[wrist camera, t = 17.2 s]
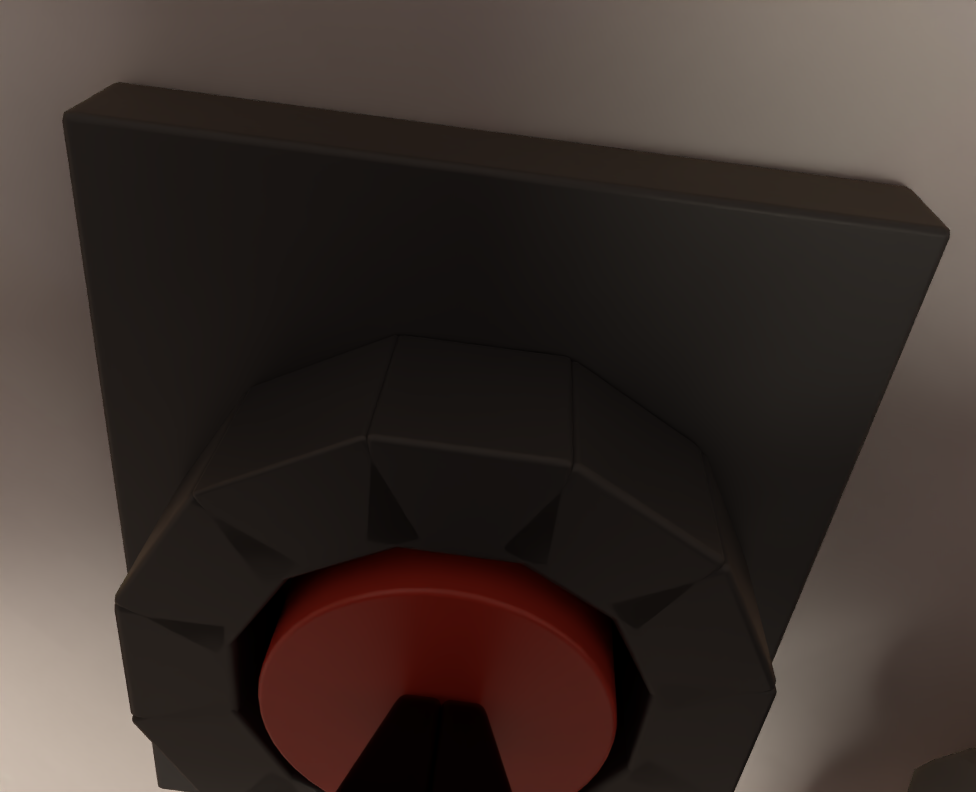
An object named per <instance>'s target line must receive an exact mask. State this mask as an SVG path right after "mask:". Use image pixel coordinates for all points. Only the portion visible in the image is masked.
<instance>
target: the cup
mask: <svg viewBox="0 0 976 792" xmlns="http://www.w3.org/2000/svg"><path fill="white" fill-rule="evenodd" d="M908 792H976V748H971V749H968V750H964V751H961V752H958V753H954V754H951V755H948V756H945V757H942V758H938V759H934V760H932V761H930V762H928V763H926V764H924V765H922V766H921V767H919V768H917V769H915V770H914V772H913V776H912V779H911V782H910V785H909V789H908Z"/></svg>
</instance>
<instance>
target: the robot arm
mask: <svg viewBox="0 0 976 792" xmlns="http://www.w3.org/2000/svg"><path fill="white" fill-rule="evenodd" d="M440 712H441V715H440ZM439 720H440V722H439ZM438 728H439V729H438ZM336 792H512V789H511V786H510V783H509V780H508V777H507V774H506V771H505V768H504V765H503V762H502V759H501V755H500V752H499V749H498V746H497V743H496V740H495V737H494V734H493V731H492V728H491V724H490V721H489V718H488V715H487V713H486V710H485V709H484V707H483V706H482V705H480V704H478V703H472V702H464V701H457V700H447V701H445V702H444V703H443V704H442V708H441V703H440V701H439V700H438V699H437V698H434V697H426V696H419V695H411V694H404V695H402V696H400V697H399V698H398V699H397V700H396V702H395V703H394V704H393V706H392V707H391V709H390V711H389V712H388V714H387V715H386V717H385V718H384V720H383V721H382V723H381V724H380V726H379V727H378V729H377V730H376V732H375V733H374V735H373V736H372V738H371V739H370V741H369V742H368V744H367V745H366V747H365V748H364V750H363V751H362V753H361V754H360V756H359V757H358V759H357V760H356V762H355V763H354V765H353V766H352V768H351V769H350V771H349V772H348V774H347V775H346V777H345V778H344V780H343V781H342V783H341V784H340V786H339V787H338V789H337V790H336Z"/></svg>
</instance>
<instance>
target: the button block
mask: <svg viewBox="0 0 976 792" xmlns="http://www.w3.org/2000/svg"><path fill="white" fill-rule="evenodd" d="M62 121H63V128H64V135H65V142H66V149H67V156H68V163H69V170H70V177H71V184H72V191H73V198H74V205H75V212H76V219H77V226H78V232H79V239H80V246H81V253H82V260H83V267H84V274H85V281H86V288H87V295H88V302H89V309H90V316H91V323H92V330H93V337H94V343H95V350H96V357H97V364H98V371H99V378H100V385H101V392H102V399H103V406H104V413H105V420H106V427H107V434H108V441H109V448H110V454H111V461H112V468H113V475H114V482H115V489H116V496H117V503H118V510H119V517H120V524H121V531H122V538H123V545H124V552H125V559H126V565H127V572H128V574H127V576H126V578H125V579H124V581H123V583H122V584H121V586H120V588H119V590H118V591H117V593H116V595H115V615H116V622H117V628H118V634H119V640H120V647H121V653H122V659H123V665H124V672H125V678H126V684H127V691H128V697H129V703H130V709H131V713H132V714H133V717H132V721H133V723H134V724H135V725H136V726H137V727H138V728H139V729H140V730H141V731H142V732H143V733H144V734H145V735H146V736H147V737H148V739H149V740H150V741H151V742H152V746H153V753H154V760H155V767H156V774H157V780H158V786H159V787H160V788H162V789H169V790H177V791H184V792H325V791H324V790H322V789H321V788H319V787H318V786H316V785H315V784H313V783H312V782H310V781H309V780H308V779H307V778H305V777H304V776H303V775H302V774H301V773H299V772H298V771H297V770H296V769H295V768H294V767H293V766H292V765H291V764H290V763H289V762H288V761H287V760H286V759H285V758H284V757H283V755H282V754H281V753H280V751H279V750H278V749H277V747H276V746H275V744H274V743H273V741H272V739H271V738H270V736H269V734H268V732H267V730H266V728H265V725H264V722H263V719H262V716H261V713H260V706H259V698H258V684H259V676H260V672H261V669H262V665H263V662H264V659H265V656H266V653H267V650H268V648H269V645H270V642H271V639H272V636H273V634H274V631H275V628H276V625H277V622H278V620H279V617H280V614H281V611H282V608H283V606H284V603H285V600H286V597H287V594H288V591H289V589H290V586H291V583H292V580H293V577H296V576H300V575H303V574H307V573H310V572H313V571H317V570H320V569H324V568H327V567H331V566H334V565H337V564H341V563H344V562H348V561H351V560H355V559H358V558H361V557H365V556H368V555H372V554H375V553H379V552H382V551H386V550H389V549H392V548H396V547H398V548H406V549H414V550H421V551H429V552H436V553H444V554H451V555H459V556H467V557H474V558H482V559H489V560H497V561H505V562H512V563H520V564H522V565H524V566H526V567H527V568H529V569H531V570H532V571H534V572H536V573H537V574H539V575H541V576H542V577H544V578H545V579H547V580H549V581H550V582H552V583H554V584H555V585H557V586H559V587H560V588H562V589H564V590H565V591H567V592H569V593H570V594H572V595H574V596H575V597H577V598H579V599H580V600H582V601H583V602H585V603H587V604H588V605H590V606H592V607H593V608H595V609H597V610H598V611H600V612H602V613H603V614H605V615H607V616H608V617H610V618H611V623H612V639H613V655H614V671H615V687H616V703H617V729H616V734H615V739H614V743H613V745H612V748H611V750H610V752H609V755H608V757H607V759H606V761H605V762H604V764H603V765H602V767H601V769H600V770H599V772H598V773H597V774H596V775H595V776H594V777H593V778H592V779H591V781H590V782H589V783H588V784H587V785H585V786H584V787H583V788H582V789H581V790H579V791H578V792H734V790H735V788H736V786H737V784H738V781H739V779H740V777H741V774H742V772H743V770H744V767H745V765H746V763H747V761H748V758H749V756H750V754H751V751H752V749H753V747H754V744H755V742H756V740H757V737H758V735H759V733H760V731H761V728H762V726H763V724H764V721H765V719H766V717H767V714H768V712H769V710H770V708H771V705H772V703H773V701H774V698H775V696H776V693H777V691H776V686H775V684H776V678H775V674H774V670H773V666H772V661H773V659H774V657H775V654H776V652H777V649H778V647H779V645H780V642H781V640H782V638H783V635H784V633H785V630H786V628H787V626H788V623H789V621H790V618H791V616H792V614H793V611H794V609H795V606H796V604H797V602H798V599H799V597H800V594H801V592H802V590H803V587H804V585H805V582H806V580H807V578H808V575H809V573H810V571H811V568H812V566H813V563H814V561H815V559H816V556H817V554H818V551H819V549H820V547H821V544H822V542H823V539H824V537H825V535H826V532H827V530H828V527H829V525H830V523H831V520H832V518H833V515H834V513H835V511H836V508H837V506H838V504H839V501H840V499H841V496H842V494H843V492H844V489H845V487H846V484H847V482H848V480H849V477H850V475H851V472H852V470H853V468H854V465H855V463H856V460H857V458H858V456H859V453H860V451H861V448H862V446H863V444H864V441H865V439H866V437H867V434H868V432H869V429H870V427H871V425H872V422H873V420H874V417H875V415H876V413H877V410H878V408H879V405H880V403H881V401H882V398H883V396H884V393H885V391H886V389H887V386H888V384H889V381H890V379H891V377H892V374H893V372H894V370H895V367H896V365H897V362H898V360H899V358H900V355H901V353H902V350H903V348H904V346H905V343H906V341H907V338H908V336H909V334H910V331H911V329H912V326H913V324H914V322H915V319H916V317H917V314H918V312H919V310H920V307H921V305H922V303H923V300H924V298H925V295H926V293H927V291H928V288H929V286H930V283H931V281H932V279H933V276H934V274H935V271H936V269H937V267H938V264H939V262H940V259H941V257H942V255H943V252H944V250H945V247H946V245H947V243H948V240H949V237H950V230H949V228H948V227H947V226H946V225H945V224H944V223H943V222H942V221H941V220H940V219H939V218H938V217H937V216H936V215H935V214H934V213H933V212H932V211H931V210H930V209H929V208H928V207H927V205H926V204H925V203H924V202H923V201H922V200H921V199H920V198H919V197H918V196H917V195H916V194H915V193H914V192H913V191H912V190H911V189H909V188H908V187H905V186H897V185H890V184H882V183H875V182H867V181H860V180H852V179H845V178H837V177H830V176H822V175H815V174H807V173H799V172H792V171H784V170H777V169H769V168H762V167H754V166H747V165H739V164H732V163H724V162H717V161H709V160H702V159H694V158H686V157H679V156H671V155H664V154H656V153H649V152H641V151H634V150H626V149H619V148H611V147H604V146H596V145H589V144H581V143H574V142H566V141H558V140H551V139H543V138H536V137H528V136H521V135H513V134H506V133H498V132H491V131H483V130H476V129H468V128H461V127H453V126H446V125H438V124H430V123H423V122H415V121H408V120H400V119H393V118H385V117H378V116H370V115H363V114H355V113H348V112H340V111H333V110H325V109H317V108H310V107H302V106H295V105H287V104H280V103H272V102H265V101H257V100H250V99H242V98H235V97H227V96H220V95H212V94H205V93H197V92H189V91H182V90H174V89H167V88H159V87H152V86H144V85H137V84H129V83H122V82H118V83H115V84H112V85H111V86H109V87H107V88H105V89H104V90H102V91H100V92H98V93H97V94H95V95H93V96H91V97H90V98H88V99H86V100H85V101H83V102H81V103H79V104H78V105H76V106H74V107H72V108H71V109H69V110H67V111H66V112H64V115H63V120H62Z"/></svg>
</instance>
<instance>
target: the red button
mask: <svg viewBox="0 0 976 792" xmlns="http://www.w3.org/2000/svg"><path fill="white" fill-rule="evenodd" d="M404 694H411V695H419V696H426V697H434V698H437V699H438V700H439V701H440V703H441V708H442V704H443V703H444V702H445V701H447V700H457V701H464V702H472V703H478V704H480V705H482V706H483V707H484V709H485V710H486V713H487V715H488V718H489V721H490V724H491V728H492V731H493V734H494V737H495V740H496V743H497V746H498V749H499V752H500V755H501V759H502V762H503V765H504V768H505V771H506V774H507V777H508V780H509V783H510V786H511V789H512V792H578V791H579V790H581V789H582V788H583V787H584V786H585V785H587V784H588V783H589V782H590V781H591V779H592V778H593V777H594V776H595V775H596V774H597V773H598V772H599V770H600V769H601V767H602V765H603V764H604V762H605V761H606V759H607V757H608V755H609V752H610V750H611V748H612V745H613V743H614V739H615V734H616V729H617V703H616V687H615V671H614V655H613V639H612V623H611V618H610V617H608V616H607V615H605V614H603V613H602V612H600V611H598V610H597V609H595V608H593V607H592V606H590V605H588V604H587V603H585V602H583V601H582V600H580V599H579V598H577V597H575V596H574V595H572V594H570V593H569V592H567V591H565V590H564V589H562V588H560V587H559V586H557V585H555V584H554V583H552V582H550V581H549V580H547V579H545V578H544V577H542V576H541V575H539V574H537V573H536V572H534V571H532V570H531V569H529V568H527V567H526V566H524V565H522V564H520V563H512V562H505V561H497V560H489V559H482V558H474V557H467V556H459V555H451V554H444V553H436V552H429V551H421V550H414V549H406V548H398V547H396V548H392V549H389V550H386V551H382V552H379V553H375V554H372V555H368V556H365V557H361V558H358V559H355V560H351V561H348V562H344V563H341V564H337V565H334V566H331V567H327V568H324V569H320V570H317V571H313V572H310V573H307V574H303V575H300V576H296V577H293V580H292V583H291V586H290V589H289V591H288V594H287V597H286V600H285V603H284V606H283V608H282V611H281V614H280V617H279V620H278V622H277V625H276V628H275V631H274V634H273V636H272V639H271V642H270V645H269V648H268V650H267V653H266V656H265V659H264V662H263V665H262V669H261V672H260V676H259V684H258V698H259V706H260V713H261V716H262V719H263V722H264V725H265V728H266V730H267V732H268V734H269V736H270V738H271V739H272V741H273V743H274V744H275V746H276V747H277V749H278V750H279V751H280V753H281V754H282V755H283V757H284V758H285V759H286V760H287V761H288V762H289V763H290V764H291V765H292V766H293V767H294V768H295V769H296V770H297V771H298V772H299V773H301V774H302V775H303V776H304V777H305V778H307V779H308V780H309V781H310V782H312V783H313V784H315V785H316V786H318V787H319V788H321V789H322V790H324V791H325V792H336V790H337V789H338V787H339V786H340V784H341V783H342V781H343V780H344V778H345V777H346V775H347V774H348V772H349V771H350V769H351V768H352V766H353V765H354V763H355V762H356V760H357V759H358V757H359V756H360V754H361V753H362V751H363V750H364V748H365V747H366V745H367V744H368V742H369V741H370V739H371V738H372V736H373V735H374V733H375V732H376V730H377V729H378V727H379V726H380V724H381V723H382V721H383V720H384V718H385V717H386V715H387V714H388V712H389V711H390V709H391V707H392V706H393V704H394V703H395V702H396V700H397V699H398V698H399V697H400V696H402V695H404ZM440 715H441V712H440ZM439 722H440V720H439ZM438 729H439V728H438Z"/></svg>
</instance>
